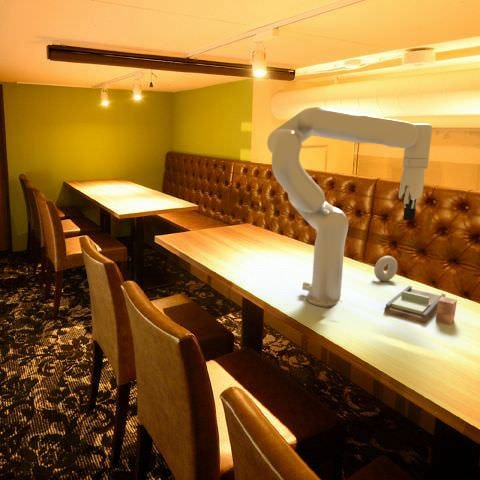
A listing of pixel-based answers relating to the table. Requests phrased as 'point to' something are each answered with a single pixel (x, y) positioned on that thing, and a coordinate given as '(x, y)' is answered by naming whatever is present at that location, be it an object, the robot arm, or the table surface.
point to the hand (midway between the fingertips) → (408, 219)
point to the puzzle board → (411, 315)
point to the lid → (412, 302)
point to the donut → (390, 271)
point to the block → (446, 310)
